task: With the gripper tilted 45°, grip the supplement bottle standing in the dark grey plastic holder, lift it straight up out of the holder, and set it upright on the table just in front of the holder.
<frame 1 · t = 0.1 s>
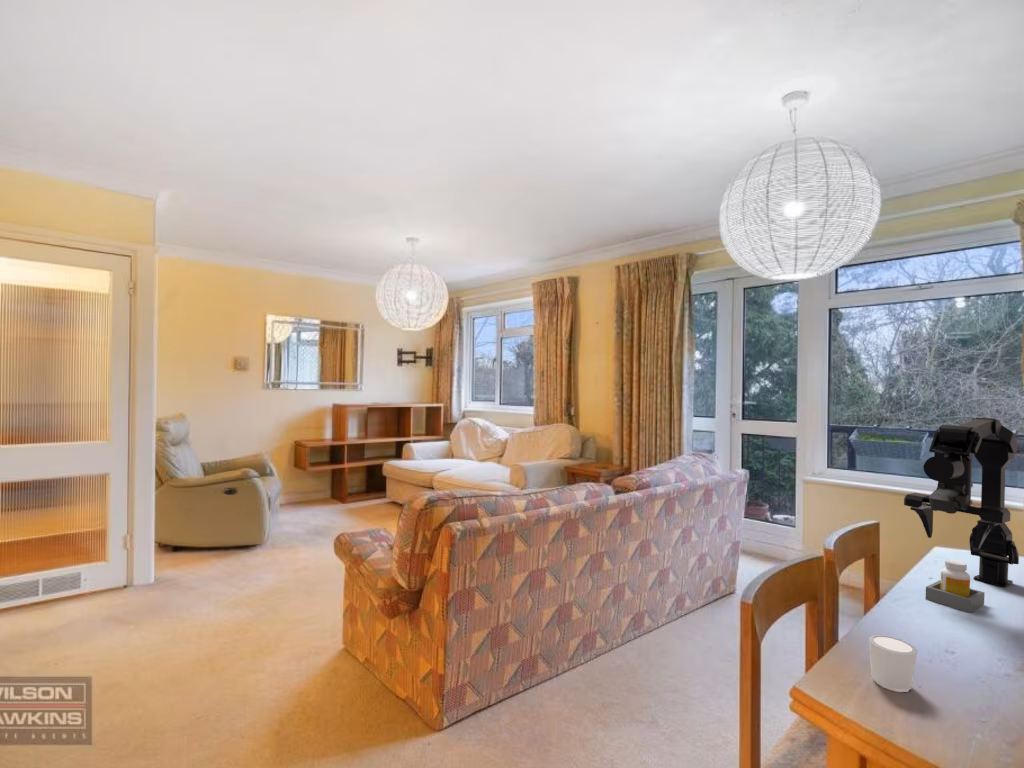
hand: (953, 542, 125), 15 cm above the table, tool pointing down, fingers open, 9 cm apart
white cylinder: (891, 684, 91), on the table
holder: (954, 601, 126), on the table
supplement bottle: (954, 602, 126), resting in holder
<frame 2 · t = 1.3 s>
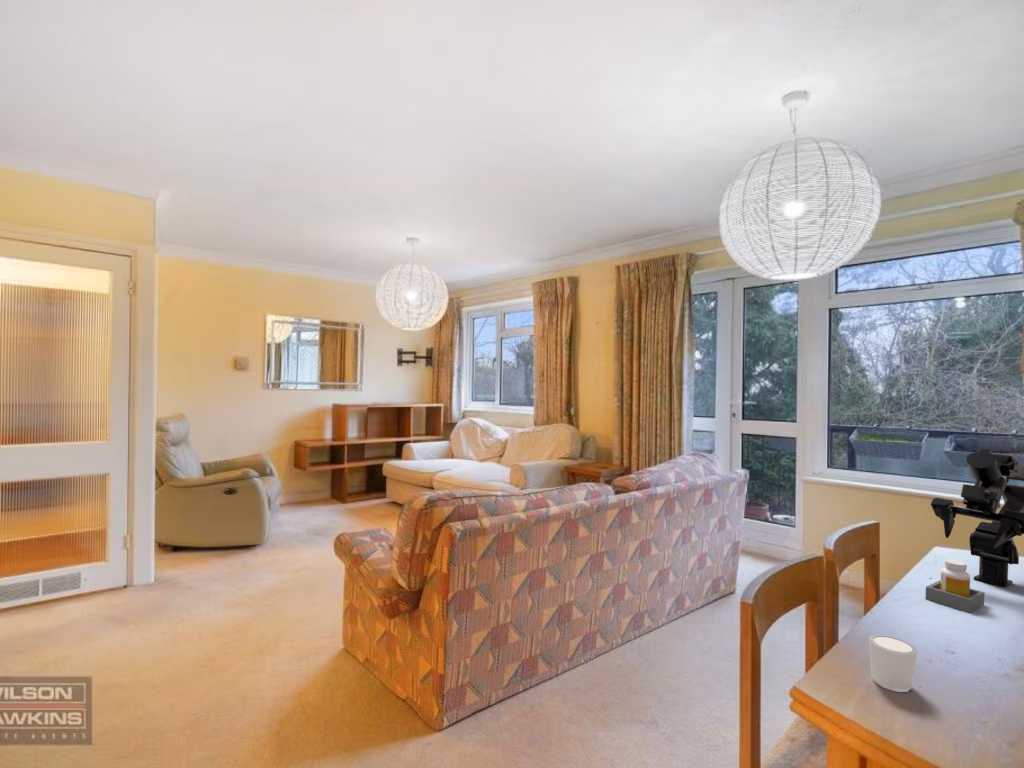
hand: (969, 541, 130), 13 cm above the table, tool tilted 45°, fingers open, 9 cm apart
nothing on the table moved.
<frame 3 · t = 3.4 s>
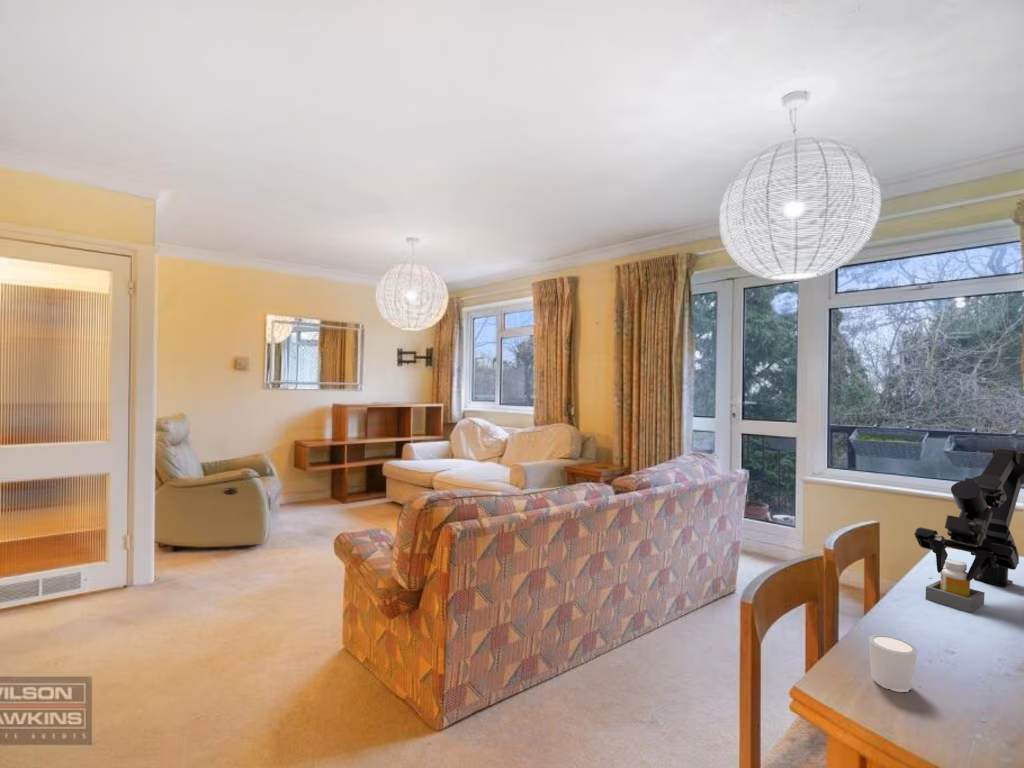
hand: (952, 575, 125), 7 cm above the table, tool tilted 45°, fingers closed on supplement bottle, 5 cm apart
supplement bottle: (954, 602, 126), resting in holder, touching gripper
everything else where it was.
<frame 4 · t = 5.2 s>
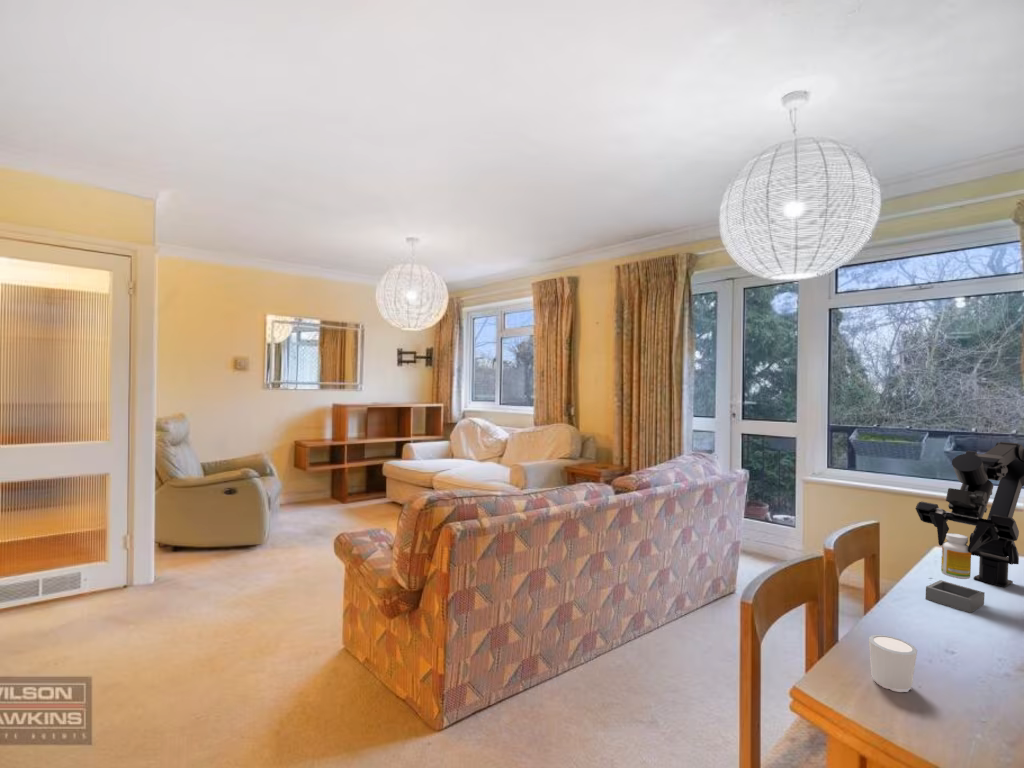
hand: (954, 548, 125), 13 cm above the table, tool tilted 45°, fingers closed on supplement bottle, 5 cm apart
supplement bottle: (955, 576, 126), point 6 cm above the table, touching gripper
everything else where it was.
when the fingers open (8 cm above the table, at t = 7.4 s): supplement bottle stays where it is, on the table.
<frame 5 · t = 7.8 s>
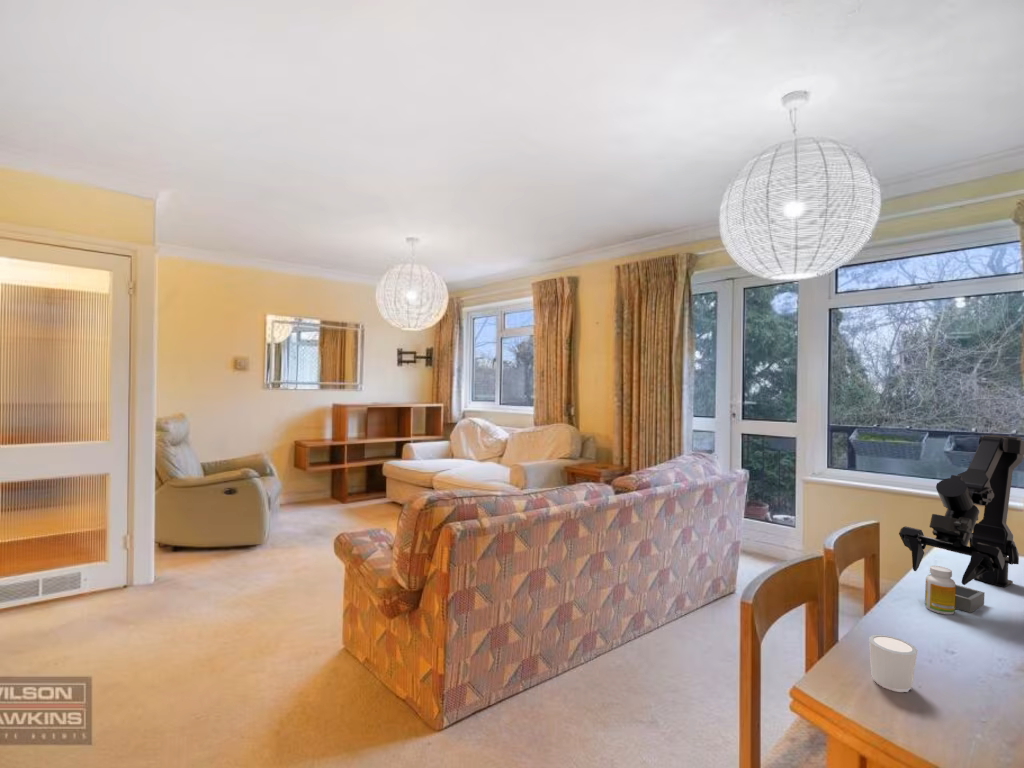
hand: (937, 576, 120), 8 cm above the table, tool tilted 45°, fingers open, 9 cm apart
supplement bottle: (939, 610, 121), on the table
everything else where it was.
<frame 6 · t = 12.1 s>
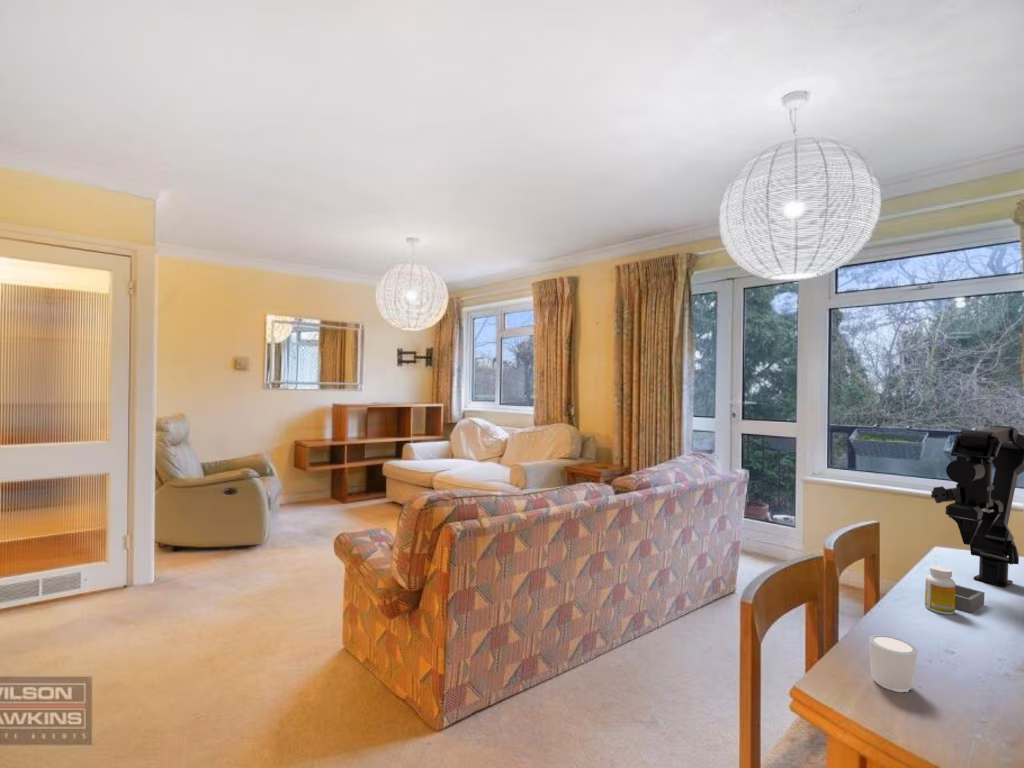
hand: (973, 541, 132), 13 cm above the table, tool pointing down, fingers open, 9 cm apart
nothing on the table moved.
at the end: supplement bottle inside the target area (0.2 cm from its centre), on the table; supplement bottle tilted 0°; the gripper is holding nothing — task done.
